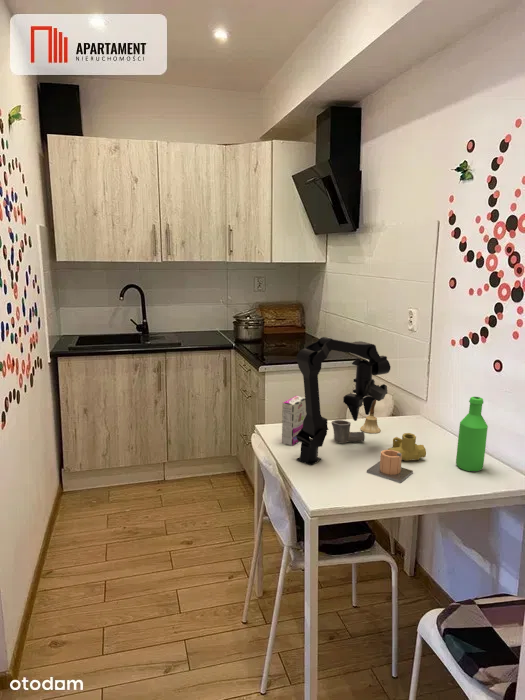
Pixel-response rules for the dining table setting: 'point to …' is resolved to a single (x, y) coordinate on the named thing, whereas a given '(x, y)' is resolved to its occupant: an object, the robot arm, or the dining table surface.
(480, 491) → the dining table surface
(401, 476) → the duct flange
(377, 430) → the hand bell
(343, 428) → the pipe
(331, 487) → the dining table surface
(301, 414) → the candy bar box
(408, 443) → the ball valve
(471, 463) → the bottle
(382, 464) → the collar
